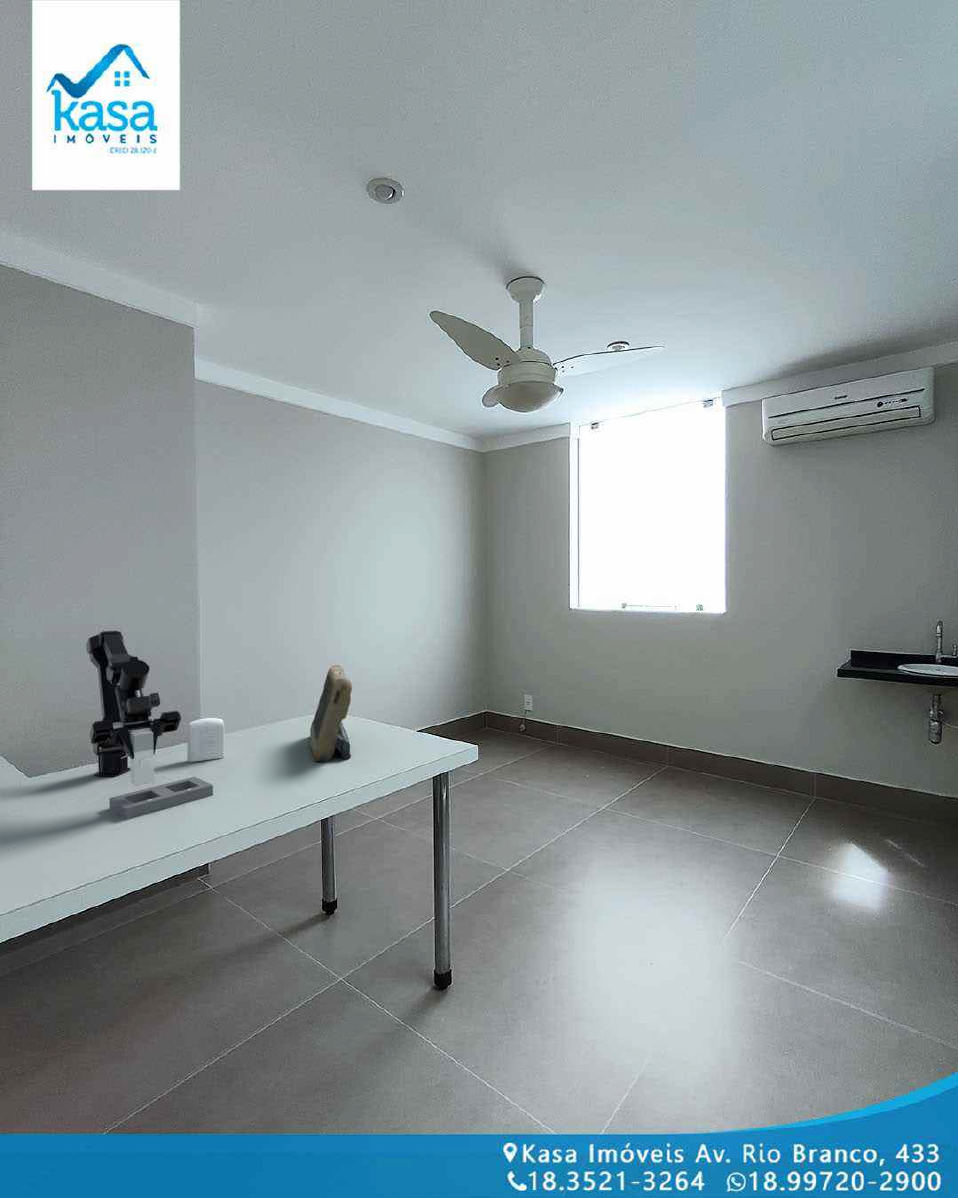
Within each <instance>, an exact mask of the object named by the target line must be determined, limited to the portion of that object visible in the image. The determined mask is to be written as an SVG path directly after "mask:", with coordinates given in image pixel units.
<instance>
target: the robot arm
mask: <svg viewBox="0 0 958 1198" xmlns="http://www.w3.org/2000/svg"><path fill="white" fill-rule="evenodd" d="M85 646H86V647H85V649H86V652H87V653H86V654H87V655H89V660H90V662H91V663H92V664H93V666H95V668H96V669H97V676H98V686H99V687H98V688H99V695H100V697H99V698H100V707H101V717H102V718H101V720H97V721H94V722H93V723H92V724H91V729H90V733H89V738H90V743H91V744H92V750H93V753H94V754H95V756H98V757H97V758H98V760H97V761H98V764H97V765H98V768H97V769H98V771H97V772H95V773H94V774H93V776H95V777H96V776H97V777H98V776H99V777H110V778H111V777H117V776H120V775H122V774H125V773H126V772H129V771H131V767H128V766H129V764H128V762H129V760H128V759H129V758H130V760H131V759H134V752H133V748H132V745H131V742H130V732H135V731H141V730H148V729H149V730H150V731H152V732H153V750H154V755H155V753H156V749H157V744H158V738H159V737H161V736H163V733H164V734H165V733H172V732H175V731H177V730H178V729H179V726H180V723H181V720H182V715H181V712H179V711H178V710H169V711H163V712H160V713H161V714H160V718H152V719H150V717H152V710H153V708H158V707H159V706H160V705H161V698H160V695H159V692H154V693H153V692H152V693H149V694H148V695H144V692H143V689H144V688H145V686H146V684H147V680H148V676H149V672H150V665H149V664H148V663H146V661H144V660H141V659H139V658H138V656H134V655H131V654H129V652H128V650H127V648H126V646H125V643H124V636H123V634H122V632H121V631H119V630H106V631H105V630H102V631H101V632H99V633H98V634H95V635H94V636H91V637H89V638H88V640H87V642H86V645H85ZM128 757H129V758H128Z"/></svg>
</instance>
